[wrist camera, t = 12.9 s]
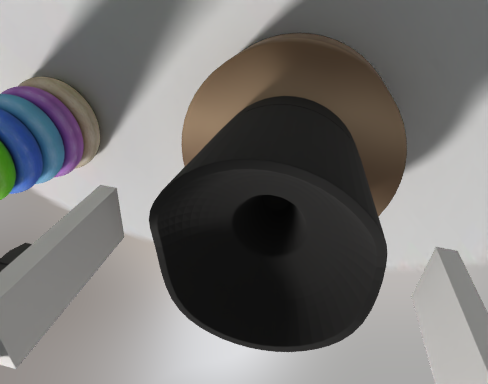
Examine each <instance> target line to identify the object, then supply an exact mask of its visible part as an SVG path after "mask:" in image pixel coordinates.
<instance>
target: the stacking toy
mask: <svg viewBox="0 0 488 384" xmlns="http://www.w3.org/2000/svg"><path fill="white" fill-rule="evenodd" d="M99 144H100V130H99V125H98V122H97V119H96V116H95V114H94V112H93V110H92V108H91V107H90V105H89V104H88V103H87V101H86V100H85V99H84V98H83V97H82V96H81V95H80V94H79V93H78V92H77V91H76V90H75V89H73V88H72V87H71V86H69V85H68V84H66V83H64V82H62V81H60V80H57V79H54V78H49V77H34V78H30V79H28V80H26V81H24V82H22V83H21V84H20V85H19V86H18V87H13V88H10V89H7V90H6V91H4V92H2V93H1V94H0V200H1V199H3V198H4V197H6V196H7V195H8V194H9V193H11V194H12V193H19V192H23V191H25V190H28V189H29V188H31V187H32V186H33V185H34V184H39V183H43V182H46V181H48V180H50V179H52V178H53V177H59V176H63V175H66V174H68V173H69V172H71V171H72V170H73V169H75V168H79V167H82V166H84V165H86V164H87V163H89V162H90V161H91V160H92V159H93V158H94V156H95V155H96V153H97V151H98V148H99Z"/></svg>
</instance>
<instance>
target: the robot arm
mask: <svg viewBox="0 0 488 384" xmlns="http://www.w3.org/2000/svg"><path fill="white" fill-rule="evenodd" d="M123 238H124V232H123V226H122V220H121V213H120V207H119V200H118V194H117V188H114V187H108V186H103V185H100V186H99V187H98V188H96V189H95V190H94V191H93V192H92V193H91V194H90V195H88V196H87V197H86V198H85V199H84V200H83V201H81V202H80V203H79V204H78V205H77V206H76V207H75V208H73V209H72V210H71V211H70V212H69V213H68V214H67V215H66V216H64V217H63V218H62V219H61V220H60V221H58V222H57V223H56V224H55V225H54V226H53V227H52V228H50V229H49V230H48V231H47V232H46V233H45V234H44V235H42V236H41V237H40V238H39V239H38V240H37V241H35V242H34V243H33V244H28V243H24V244H22V245H20V246H19V247H16V248H14V249H12V250H10V251H9V252H8V253H6V254H5V255H4V256H3V257H2V258H0V365H3V366H7V367H11V368H14V369H17V367H18V366H19V365H20V364H21V363H22V361H23V360H24V359H25V357H26V356H27V355H28V354H29V353H30V351H31V350H32V349H33V348H34V347H35V345H36V344H37V343H38V342H39V340H40V339H41V338H42V337H43V336H44V334H45V333H46V332H47V331H48V330H49V328H50V327H51V326H52V325H53V323H54V322H55V321H56V320H57V319H58V317H59V316H60V315H61V314H62V312H63V311H64V310H65V309H66V308H67V306H68V305H69V304H70V302H71V301H72V300H73V299H74V298H75V297H76V295H77V294H78V293H79V292H80V290H81V289H82V288H83V287H84V285H85V284H86V283H87V282H88V281H89V279H90V278H91V277H92V276H93V275H94V273H95V272H96V271H97V270H98V268H99V267H100V266H101V265H102V263H103V262H104V261H105V260H106V259H107V257H108V256H109V255H110V254H111V253H112V251H113V250H114V249H115V248H116V246H117V245H118V244H119V243H120V242H121V240H122V239H123ZM411 297H412V300H413V304H414V308H415V312H416V315H417V319H418V323H419V327H420V330H421V334H422V338H423V341H424V345H425V349H426V353H427V356H428V360H429V364H430V368H431V371H432V375H433V378H434V382H435V384H488V312H487V310H486V308H485V306H484V304H483V302H482V300H481V298H480V296H479V294H478V292H477V290H476V288H475V286H474V284H473V282H472V280H471V277H470V275H469V274H468V271H467V269H466V267H465V265H464V263H463V261H462V259H461V257H460V255H459V253H458V251H455V250H450V249H444V248H439V247H436V248H435V250H434V252H433V254H432V256H431V258H430V260H429V262H428V264H427V266H426V268H425V270H424V272H423V274H422V276H421V278H420V280H419V282H418V284H417V286H416V288H415V290H414V292H413V294H412V296H411Z"/></svg>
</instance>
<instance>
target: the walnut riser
mask: <svg viewBox="0 0 488 384" xmlns="http://www.w3.org/2000/svg"><path fill="white" fill-rule="evenodd" d="M276 96H296V97H301V98H306V99H309V100H312V101H315V102H317V103H319V104H321V105H323V106H325V107H326V108H328V109H329V110H331V111H332V112H333V113H334V114H335V115H337V116H338V117H339V118H340V119H341V121H342V122H343V123H344V124H345V125H346V127H347V128H348V130H349V131H350V133H351V135H352V137H353V139H354V142H355V144H356V147H357V150H358V153H359V156H360V158H361V161H362V164H363V168H364V171H365V174H366V178H367V181H368V184H369V188H370V191H371V194H372V197H373V201H374V204H375V207H376V211H377V214H378V216H379V215H380V214H381V213H382V212H383V210H384V209H385V208H386V207H387V206H388V204H389V203H390V201H391V200H392V198H393V197H394V195H395V193H396V191H397V189H398V187H399V184H400V182H401V179H402V176H403V172H404V169H405V163H406V155H407V143H406V134H405V128H404V123H403V120H402V118H401V115H400V112H399V109H398V107H397V105H396V103H395V102H394V100H393V98H392V96H391V94H390V93H389V91H388V89H387V88H386V86H385V84H384V83H383V81H382V79H381V78H380V76H379V75H378V73H377V72H376V71H375V69H374V68H373V67H372V65H371V64H370V63H369V62H368V61H367V60H366V59H365V58H364V57H363V56H362V55H360V54H359V53H358V52H356V51H355V50H353V49H352V48H351V47H349V46H347V45H345V44H343V43H341V42H339V41H337V40H334V39H331V38H328V37H325V36H321V35H316V34H310V33H290V34H281V35H277V36H274V37H270V38H267V39H264V40H262V41H259V42H257V43H255V44H253V45H251V46H250V47H248V48H246V49H245V50H243V51H242V52H240V53H239V54H237V55H235V56H234V57H232V58H231V59H229V60H228V61H226V62H225V63H224V64H222V65H221V66H220V67H219V68H217V69H216V70H215V71H214V72H213V73H212V74H211V75H210V76H209V77H208V78H207V79H206V80H205V81H204V82H203V84H202V85H201V86H200V88H199V89H198V91H197V92H196V94H195V95H194V97H193V99H192V101H191V103H190V105H189V108H188V111H187V114H186V117H185V120H184V125H183V131H182V154H183V161H184V165H185V166H186V165H187V164H188V163H189V162H190V161H191V160H192V159H193V158H194V157H195V156H196V155H197V154H198V153H199V152H200V151H201V150H202V149H203V148H204V146H205V145H206V144H207V143H208V142H209V141H210V140H211V139H212V138H213V137H214V136H215V135H216V134H217V133H218V132H219V131H220V130H221V129H222V128H223V127H224V126H225V125H226V124H227V123H228V122H229V121H230V120H231V119H232V118H233V117H234V116H236V115H237V114H238V113H239V112H240V111H242V110H243V109H244V108H246V107H247V106H249V105H251V104H253V103H255V102H257V101H260V100H263V99H266V98H270V97H276Z"/></svg>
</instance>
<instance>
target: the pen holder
mask: <svg viewBox="0 0 488 384" xmlns="http://www.w3.org/2000/svg"><path fill="white" fill-rule="evenodd" d="M149 223H150V229H151V233H152V237H153V240H154V244H155V248H156V252H157V256H158V260H159V265H160V269H161V273H162V276H163V279H164V282H165V285H166V288H167V290H168V292H169V294H170V296H171V299H172V300H173V301H174V303H175V304H176V306H177V307H178V308H179V310H180V311H181V312H182V313H183V314H184V315H186V317H187V318H188V319H190V320H191V321H192V322H194V323H195V324H196V325H198V326H199V327H201V328H202V329H204V330H206V331H208V332H210V333H211V334H213V335H216V336H218V337H220V338H222V339H224V340H227V341H230V342H233V343H236V344H239V345H242V346H246V347H249V348H255V349H260V350H266V351H275V352H296V351H307V350H313V349H318V348H322V347H326V346H329V345H331V344H334V343H337V342H339V341H341V340H343V339H344V338H346V337H347V336H349V335H351V334H352V333H353V332H354V331H355V330H356V329H357V328H358V327H359V326H360V325H361V324H362V323H363V322H364V320H365V319H366V317H367V316H368V314H369V313H370V311H371V309H372V307H373V305H374V303H375V301H376V298H377V296H378V293H379V290H380V287H381V284H382V281H383V277H384V272H385V268H386V261H387V245H386V241H385V238H384V234H383V231H382V227H381V224H380V221H379V217H378V214H377V211H376V207H375V204H374V201H373V197H372V194H371V191H370V188H369V184H368V181H367V178H366V174H365V171H364V168H363V164H362V161H361V158H360V156H359V153H358V150H357V147H356V144H355V142H354V139H353V137H352V135H351V133H350V131H349V130H348V128H347V127H346V125H345V124H344V123H343V122H342V121H341V119H340V118H339V117H338V116H337V115H335V114H334V113H333V112H332V111H331V110H329V109H328V108H326V107H325V106H323V105H321V104H319V103H317V102H315V101H312V100H309V99H306V98H301V97H296V96H276V97H270V98H266V99H263V100H260V101H257V102H255V103H253V104H251V105H249V106H247V107H246V108H244V109H243V110H242V111H240V112H239V113H238V114H237V115H236V116H234V117H233V118H232V119H231V120H230V121H229V122H228V123H227V124H226V125H225V126H224V127H223V128H222V129H221V130H220V131H219V132H218V133H217V134H216V135H215V136H214V137H213V138H212V139H211V140H210V141H209V142H208V143H207V144H206V145H205V146H204V148H203V149H202V150H201V151H200V152H199V153H198V154H197V155H196V156H195V157H194V158H193V159H192V160H191V161H190V162H189V163H188V164H187V165H186V166H185V167H184V168H183V169H182V170H181V171H180V173H179V174H178V175H177V176H176V177H175V178H174V179H173V180H172V181H171V182H170V183H169V184H168V185H167V186H166V187H165V188H164V189H163V190H162V191H161V193H160V194H159V196H158V197H157V198H156V200H155V201H154V203H153V205H152V208H151V210H150V216H149Z"/></svg>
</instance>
